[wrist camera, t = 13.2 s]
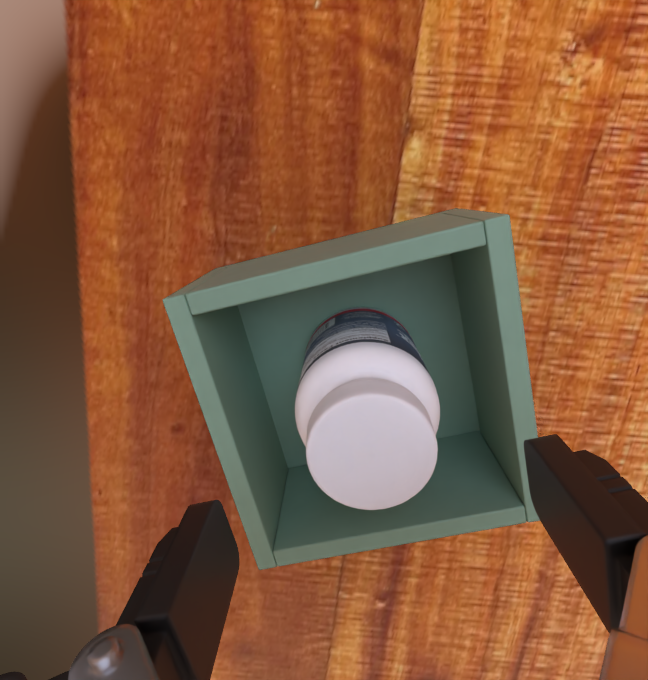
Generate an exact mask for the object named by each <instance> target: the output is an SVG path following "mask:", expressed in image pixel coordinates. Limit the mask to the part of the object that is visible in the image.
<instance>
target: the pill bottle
mask: <svg viewBox="0 0 648 680" xmlns="http://www.w3.org/2000/svg"><path fill="white" fill-rule="evenodd" d="M295 419H296V425H297V429H298V432H299V434H300V437H301V439H302V441H303V443H304V445H305V447H306V459H307V464H308V468H309V471H310V473H311V475H312V477H313V479H314V481H315V482H316V483H317V485H318V486H319V487H320V488H321V490H322V491H324V492H325V493H326V494H327V495H328V496H329V497H331V498H332V499H333V500H335V501H337V502H339V503H341V504H344V505H346V506H349V507H352V508H357V509H364V510H377V509H386V508H389V507H393V506H396V505H399V504H402V503H404V502H405V501H407V500H409V499H410V498H412V497H413V496H415V495H416V494H417V493H418V492H419V491H420V490H421V489H422V488H423V487H424V486H425V485H426V483H427V482H428V481H429V479H430V477H431V476H432V474H433V471H434V468H435V465H436V461H437V453H438V446H437V440H436V433H437V430H438V426H439V420H440V404H439V398H438V394H437V391H436V387H435V385H434V382H433V380H432V378H431V376H430V374H429V372H428V370H427V368H426V366H425V364H424V361H423V360H422V358H421V355H420V353H419V352H418V350H417V348H416V346H415V344H414V341H413V339H412V338H411V336H410V334H409V333H408V331H407V330H406V328H405V327H404V326H403V325H402V324H401V323H400V322H399V321H398V320H397V319H396V318H394V317H393V316H391V315H389V314H388V313H386V312H383V311H381V310H378V309H374V308H367V307H355V308H349V309H345V310H342V311H339V312H337V313H335V314H333V315H331V316H330V317H328V318H327V319H325V320H324V321H323V322H322V323H321V324H320V325H319V326H318V327H317V328H316V330H315V331H314V333H313V334H312V336H311V338H310V340H309V343H308V346H307V349H306V353H305V358H304V363H303V368H302V372H301V377H300V381H299V385H298V389H297V394H296V400H295Z"/></svg>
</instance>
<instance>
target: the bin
mask: <svg viewBox="0 0 648 680" xmlns="http://www.w3.org/2000/svg"><path fill="white" fill-rule="evenodd" d="M163 303H164V306H165V309H166V312H167V314H168V317H169V320H170V323H171V325H172V328H173V331H174V334H175V337H176V339H177V342H178V345H179V348H180V351H181V353H182V356H183V359H184V362H185V365H186V367H187V370H188V373H189V376H190V379H191V381H192V384H193V387H194V390H195V393H196V395H197V398H198V401H199V404H200V407H201V409H202V412H203V415H204V418H205V421H206V423H207V426H208V429H209V432H210V435H211V437H212V440H213V443H214V446H215V449H216V451H217V454H218V457H219V460H220V463H221V465H222V468H223V471H224V474H225V477H226V479H227V482H228V485H229V488H230V491H231V493H232V496H233V499H234V502H235V505H236V507H237V510H238V513H239V516H240V519H241V521H242V524H243V527H244V530H245V533H246V535H247V538H248V541H249V544H250V547H251V549H252V552H253V555H254V558H255V561H256V563H257V566H258V569H259V570H262V569H268V568H273V567H277V565H278V566H283V565H289V564H295V563H300V562H306V561H312V560H317V559H323V558H329V557H334V556H340V555H346V554H351V553H357V552H363V551H368V550H374V549H380V548H385V547H391V546H397V545H402V544H408V543H414V542H419V541H425V540H431V539H436V538H442V537H448V536H453V535H459V534H465V533H470V532H476V531H482V530H487V529H493V528H499V527H504V526H510V525H516V524H521V523H526V521H527V522H534V521H540V519H539V517H538V515H537V513H536V511H535V509H534V506H533V503H532V500H531V496H530V490H529V483H528V475H527V468H526V460H525V453H524V441H525V440H528V439H533V438H538V435H537V427H536V419H535V411H534V403H533V395H532V388H531V380H530V372H529V364H528V356H527V349H526V341H525V333H524V325H523V317H522V309H521V302H520V294H519V286H518V278H517V270H516V263H515V255H514V247H513V239H512V231H511V224H510V216H509V215H508V214H500V213H492V212H484V211H475V210H467V209H458V208H455V209H451V210H447V211H443V212H439V213H435V214H431V215H427V216H423V217H419V218H415V219H411V220H407V221H403V222H399V223H395V224H391V225H387V226H383V227H379V228H375V229H371V230H367V231H363V232H359V233H356V234H352V235H348V236H344V237H340V238H336V239H332V240H328V241H324V242H320V243H316V244H312V245H308V246H304V247H300V248H296V249H292V250H288V251H284V252H280V253H276V254H272V255H268V256H264V257H260V258H256V259H252V260H248V261H244V262H240V263H236V264H232V265H228V266H224V267H220V268H216V269H214V270H212V271H210V272H209V273H207V274H205V275H203V276H202V277H200V278H198V279H197V280H195V281H193V282H192V283H190V284H188V285H187V286H185V287H183V288H181V289H180V290H178V291H176V292H175V293H173V294H171V295H170V296H168V297H166V298H165V299H163ZM355 307H367V308H374V309H378V310H381V311H383V312H386V313H388V314H389V315H391V316H393V317H394V318H396V319H397V320H398V321H399V322H400V323H401V324H402V325H403V326H404V327H405V328H406V330H407V331H408V333H409V334H410V336H411V338H412V339H413V341H414V344H415V346H416V348H417V350H418V352H419V353H420V355H421V358H422V360H423V361H424V364H425V366H426V368H427V370H428V372H429V374H430V376H431V378H432V380H433V382H434V385H435V387H436V391H437V394H438V398H439V404H440V420H439V426H438V430H437V433H436V440H437V446H438V453H437V461H436V465H435V468H434V471H433V474H432V476H431V477H430V479H429V481H428V482H427V483H426V485H425V486H424V487H423V488H422V489H421V490H420V491H419V492H418V493H417V494H416V495H415V496H413V497H412V498H410V499H409V500H407V501H405V502H404V503H402V504H399V505H396V506H393V507H389V508H386V509H377V510H364V509H357V508H352V507H349V506H346V505H344V504H341V503H339V502H337V501H335V500H333V499H332V498H331V497H329V496H328V495H327V494H326V493H325V492H324V491H322V490H321V488H320V487H319V486H318V485H317V483H316V482H315V481H314V479H313V477H312V475H311V473H310V471H309V468H308V464H307V459H306V447H305V445H304V443H303V441H302V439H301V437H300V434H299V432H298V429H297V425H296V419H295V400H296V394H297V389H298V385H299V381H300V377H301V372H302V368H303V363H304V358H305V353H306V349H307V346H308V343H309V340H310V338H311V336H312V334H313V333H314V331H315V330H316V328H317V327H318V326H319V325H320V324H321V323H322V322H323V321H324V320H325V319H327V318H328V317H330V316H331V315H333V314H335V313H337V312H339V311H342V310H345V309H349V308H355Z"/></svg>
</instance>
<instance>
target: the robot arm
mask: <svg viewBox="0 0 648 680" xmlns="http://www.w3.org/2000/svg"><path fill="white" fill-rule="evenodd" d="M524 453H525V460H526V468H527V475H528V483H529V490H530V496H531V500H532V503H533V506H534V509H535V511H536V513H537V515H538V517H539V519H540V521H541V522H542V524H543V526H544V527H545V529H546V531H547V532H548V534H549V536H550V537H551V539H552V540H553V542H554V544H555V545H556V547H557V549H558V550H559V552H560V553H561V555H562V557H563V558H564V560H565V562H566V563H567V565H568V567H569V568H570V570H571V571H572V573H573V575H574V576H575V578H576V580H577V581H578V583H579V584H580V586H581V588H582V589H583V591H584V593H585V594H586V596H587V598H588V599H589V601H590V602H591V604H592V606H593V607H594V609H595V611H596V612H597V614H598V616H599V617H600V619H601V620H602V622H603V624H604V625H605V627H606V629H607V630H608V632H609V633H610V635H609V638H608V642H607V647H606V651H605V656H604V660H603V665H602V669H601V674H600V678H599V680H648V502H647V501H646V500H645V499H644V498H643V497H642V496H641V495H640V494H639V493H638V492H637V491H636V490H635V489H632V486H631V485H630V484H629V483H628V482H627V481H626V480H625V479H624V478H623V477H621V476H620V474H619V473H618V472H617V471H616V470H615V469H614V468H613V467H612V466H611V465H610V464H609V463H608V462H607V461H606V460H605V459H602V458H600V457H598V456H596V455H594V454H592V453H590V452H588V451H586V450H582V451H577V452H572V450H571V449H570V448H569V447H568V446H567V445H566V444H565V443H564V442H563V440H562V439H561V438H560V437H559V436H558V435H556V434H554V435H548V436H543V437H538V438H533V439H528V440H525V441H524ZM238 570H239V552H238V547H237V544H236V541H235V538H234V536H233V533H232V530H231V528H230V525H229V522H228V519H227V517H226V514H225V511H224V509H223V506H222V504H221V502H220V501H219V500H213V501H208V502H203V503H197V504H192V505H190V506H189V507H188V508H187V510H186V512H185V514H184V516H183V518H182V520H181V522H180V524H179V527H175V528H172V529H171V530H170V531H169V532H168V533H167V534H166V535H165V536H164V537H163V539H162V540H161V541H160V542H159V543H158V544H157V546H156V548H155V550H154V552H153V554H152V556H151V558H150V560H149V563H148V564H147V566H146V567H145V569H144V571H143V573H142V575H143V576H142V577H140V579H139V581H138V583H137V585H136V587H135V589H134V591H133V593H132V595H131V597H130V599H129V601H128V603H127V605H126V607H125V609H124V610H123V612H122V614H121V616H120V618H119V620H118V622H117V624H116V626H114V627H111V628H109V629H107V630H105V631H103V632H102V633H100V634H99V635H97V636H96V637H94V638H93V639H92V640H91V641H90V642H88V643H87V645H85V646H84V647H83V649H82V650H81V651H80V652H79V654H78V655H77V656H76V658H75V659H74V661H73V663H72V665H71V668H70V670H69V671H67V672H64V673H62V674H60V675H58V676H56V677H53V678H51V679H49V680H210V677H211V674H212V670H213V666H214V662H215V658H216V655H217V651H218V647H219V643H220V639H221V635H222V632H223V628H224V624H225V620H226V616H227V613H228V609H229V605H230V601H231V597H232V594H233V590H234V586H235V582H236V578H237V575H238ZM0 680H27V679H26V677H25V675H23V674H22V673H20V672H9V673H6V674H2V675H0Z"/></svg>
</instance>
